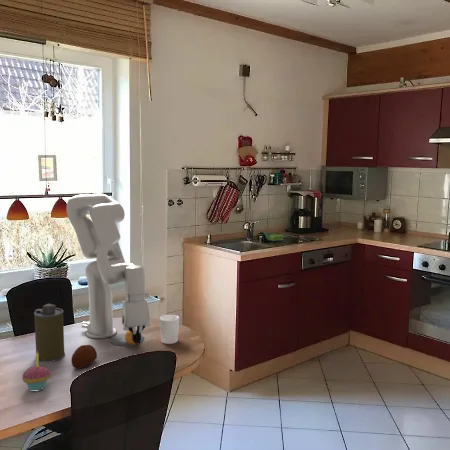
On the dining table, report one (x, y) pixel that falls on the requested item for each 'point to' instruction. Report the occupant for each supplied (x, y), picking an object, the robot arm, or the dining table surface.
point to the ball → (129, 338)
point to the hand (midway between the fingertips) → (136, 342)
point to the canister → (49, 333)
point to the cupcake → (36, 376)
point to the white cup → (169, 328)
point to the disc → (122, 340)
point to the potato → (83, 356)
